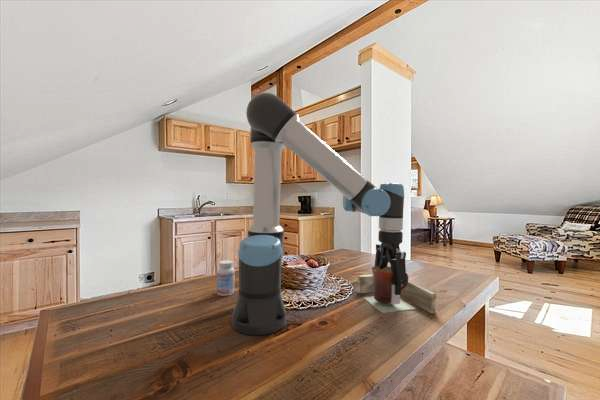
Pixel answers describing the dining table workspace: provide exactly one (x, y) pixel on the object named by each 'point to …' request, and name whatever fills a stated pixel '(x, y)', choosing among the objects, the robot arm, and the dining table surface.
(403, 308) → the pad
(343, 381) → the dining table surface
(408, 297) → the back wall
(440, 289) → the dining table surface
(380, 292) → the mug
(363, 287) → the side wall
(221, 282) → the pill bottle
